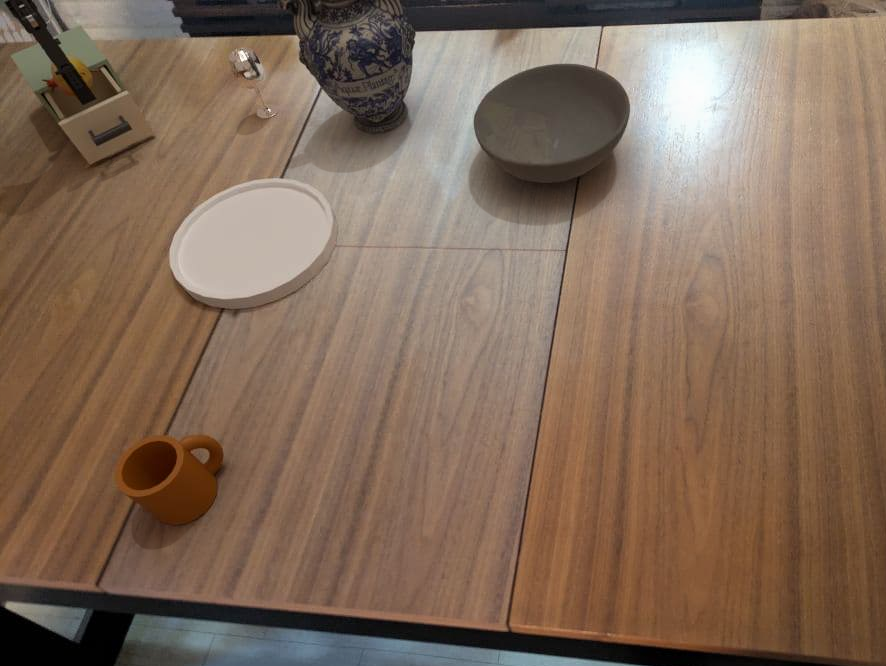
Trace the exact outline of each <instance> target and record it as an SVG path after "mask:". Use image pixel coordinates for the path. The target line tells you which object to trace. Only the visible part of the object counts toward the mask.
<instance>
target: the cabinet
mask: <svg viewBox="0 0 886 666" xmlns="http://www.w3.org/2000/svg"><path fill="white" fill-rule="evenodd" d="M52 37H53V38H54V39H56V38H58V39H59V41H60V42H61V43H62V44H60V45H59V46H60V48H61V49H62V51H63V52H64V53H65V55H66V56H72V57H75V58H77V59H79V60H80V61H82V62H83V63H84V64H85V65H86V67H87V68H88V70H94V69H96V68H98V67H100V66H102V65H103V66H104V68H105V69H106V70H107V72H108V73H109V74H110V76H111V77H112V78H113V80H114V81H115V82H116V83H117V85H118V86H119V87H120V89H121V90H122V91H123V92H124V91H126V90H127V91H128V89H127V88H126V86H125V85H124V83H123V81H122V80H121V79H120V77H119V76H118V73H117V71H115V69H114V68H113V66H112V64H111V63H110V61H109V60H108V58H107V57H106V56H105V54H103V52H102V51H101V50H100V48H99V47H98V46H97V44H96V43H95V42H94V41H93V39H92V38H91V36H90V35H89V34H88V33H87V32H86V30H85V29H84V28H83V26H82V25H81V24H79V25H77V26H74V27H72V28H70V29H68V30H65V31H63V32H61V33H59V34H56V35H54V36H52ZM10 57H11V59H12V61H13V62H14V64H15V65H16V66H17V69H18V70H19V72H20V74H21V75H22V77H23V78H24V80H25V81H26V83H27V84H28V86H29V88H30V89H31V91H32V92H33V94H34V95H35V96H36V98H37V99H38V100H39V101H40V102H41V104H42V105H43V106H44V108H45V109H46V110H47V112H48V113H49V114H50V115H51V116H52V118H53V119H54V121H55V122H56V123H57V124H58V122H60V121H61V119H60V118H59V116H58V115H57V113H56V112H55V110H54V109H53V107H52V106H51V104H50V102H49V101H48V99H47V98H46V96H45V95H44V93H43V92H45V91H47V90H50V89H52V87H50V88H48V85H47V83H48V82H45V81H42V79H45V80H47V79H52V78H53V75H52V71H51V64H52V61H51V60H50V59H49V57H48V56H47V54H46V52H45V51H44V50H43V49H42V47H41V45H40V44H39V43H38V42H37V43H36V44H33V45H31V46H29V47H27V48H24V49H22V50H19V51H17V52H15V53H12V54H11V55H10ZM128 93H129V94H130V92H129V91H128ZM130 96H131V94H130ZM131 97H132V96H131ZM132 99H133V100H134V98H133V97H132Z"/></svg>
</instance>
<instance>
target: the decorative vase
mask: <svg viewBox="0 0 886 666" xmlns="http://www.w3.org/2000/svg"><path fill="white" fill-rule="evenodd" d="M276 2H277V8H278V9H279V10H284V11H288V10H290V13H292V14H293V26H294V31H295V34H296V36H297V38H298V39H299V41H298V46H299V51H298V60H299V62H300V63H301V64H302V65H303V66H305V68H306V70H307V71H308V72H309V73H310V75H311V76H312V77H314V78H315V80H316V82H317V83H318V85H319V87H320V88H321V89H322V91H323V92H324V93H325V94H326V95H327V96H328V97H329V98H330V100H332V102H334V104H336V106H338V107H339V108H340V109H342V110H344V111H345V112H347V113H349V114H350V115H353V116H352V118H353V123H354V125H355V126H356V128H357V129H359V130H360V131H362V132H364V133H369V134H380V133H385V132H389V131H392V130H394V129H395V128H398V127H399V126H400V125H401V124H403V123H404V122H405V120H406V119H407V116H408V112H409V110H408V106H407V104H406V102H405V101H404V100H405V97H406V95H407V93H408V91H409V87H410V84H411V79H412V74H413V73H412V72H413V62H414V61H413V50H414V46H415V44H416V41H415V38H416V35H417V33H416V31H415V30H414V28H413V26H412V24H410V23H409V20H408V19H409V18H407V17H406V16H405V15H404V13H403V7H402V3H401V2H400V0H319V1H317V2H316V3H315V1H314V0H276ZM405 118H406V119H405ZM397 126H398V127H397ZM391 129H392V130H391Z"/></svg>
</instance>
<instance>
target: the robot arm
mask: <svg viewBox="0 0 886 666" xmlns="http://www.w3.org/2000/svg"><path fill="white" fill-rule="evenodd" d="M3 3H4V4H5V6H6V7H7V8H8V10H9V12H10V13H11V14H12V16H13V17H14V18H16V19H17V20H18V21H19V22H20V23H19V24H21V25H22V27H23V28H24V30H25V31H26V32H27V33H28V34H29V35H30V34H31V35H32V36H33V37H34V38H35V41H36V42H37V44H38V43H39V44H40V45H41V47H42V49H43V50H44V51H45V52H46V54H47V56H48V57H49V59H50V60H51V61H52V62H53V63H54V65H55V66H56V68H57V70H58V71H56V72H55V74H56V75H57V76H58V75H61V76H62V77H63V79H64V80H65V82H66V83H67V84H68V86H69V87H70V88H71V90H72V91H73V93H74V94H75V95H76V97H77V98H78V100H79V101H80V102H81V104H82V105H85V104H87V103H89V102H91V101H93V100H96V97H95V96H94V94H93V93H92V92H91V90H90V89H89V87H88V86H87V84H86V83H85V82H84V80H83V79H82V77H81V76H80V74H79V73H78V71H77V70H76V69H75V67H74V65H73V64H72V63H70V61H69V60H68V58H67V57H66V55H65V53H64V52H63V51H62V49H61V48H60V46H59V45H60V44H62V43H61V42H60V41H59V39H58V38H56V39H54V38H53V37H54V36H53V35H52V33H51V32H50V31H49V30H48V23H47V22H46V20H45V19H44V17H43V16H42V15H41V13H40V12H39V11H38V7H37V4H36V3H35V2H34V1H33V0H5V1H4V2H3Z"/></svg>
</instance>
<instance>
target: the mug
mask: <svg viewBox="0 0 886 666" xmlns="http://www.w3.org/2000/svg"><path fill="white" fill-rule="evenodd" d="M198 449H203V450H206V451H208V453H209V456H208V459H207V460H206V461H205V463H202V461H201V460H199V458H197V457H196V455H195V454H193V453H192V451H194V450H198ZM224 454H225V453H224V449H223V447H222V445H221V443H220V442H218V440H217V439H216V438H214V437H212V436H209V435H207V434H201V433H199V434H192V435H188V436H185V437H183V438H181V439H180V440H178V439H177V438H174V437H173V436H171V435H165V434H157V435H151V436H148V437H146V438H142V439H141V440H138V441H137V442H136V443H135V444H133V445H131V446H130V447H129V448H128V449H127V450H126V452H124V453H123V455H121V457H120V459H119V461H118V463H117V465H116V468H115V472H114V480H115V481H114V482H115V485H116V486H117V489H119V491H120V492H121V493H123V494H124V495H125V496H126V497H128V498H129V499H130V500H132V501H133V502H135V503H136V504H137V505H139V506H140V507H142V508H143V509H144V510H146V511H147V512H149V513H150V514H151V515H153V516H154V517H155V518H157V519H158V520H160V521H162V522H163V523H165V524H167V525H173V526H179V525H184V524H188V523H190V522H193V521H195V520H197V519H198V518H199V517H201V516H203V514H205V513H206V512H207V511H208V509H209V508H210V507H211V506H212V505H213V503H214V501H215V498H216V496H217V492H218V486H219V485H218V481H217V477H216V476H215V474H216V473H217V472H218V471H219V470H220V468H221V467H222V464H223V462H224Z"/></svg>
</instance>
